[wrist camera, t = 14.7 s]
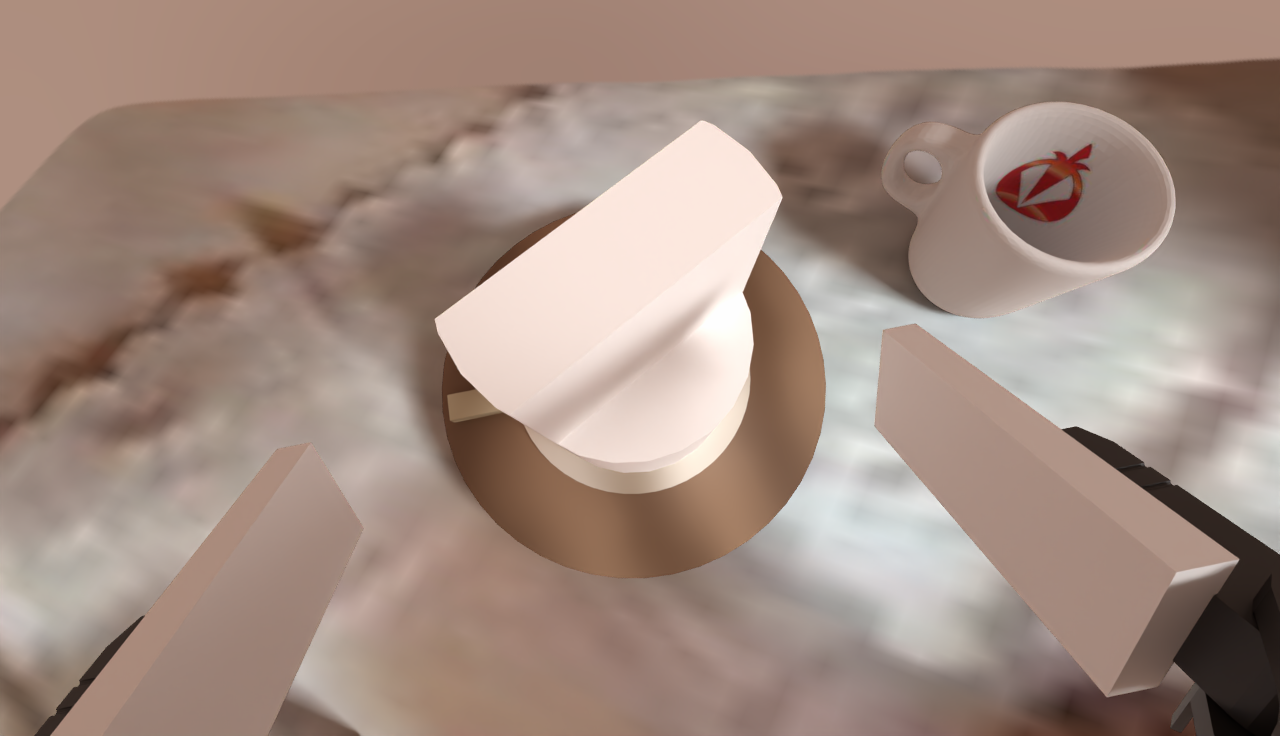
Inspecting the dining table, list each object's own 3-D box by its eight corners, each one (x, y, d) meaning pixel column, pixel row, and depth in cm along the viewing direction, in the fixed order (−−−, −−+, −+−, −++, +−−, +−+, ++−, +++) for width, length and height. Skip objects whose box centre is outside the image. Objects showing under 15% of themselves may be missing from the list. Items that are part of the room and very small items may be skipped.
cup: (816, 249, 29) (874, 158, 21) (893, 153, 30) (975, 33, 23) (988, 367, 27) (1122, 313, 19) (1062, 257, 28) (1215, 166, 21)
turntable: (760, 198, 29) (771, 167, 26) (857, 528, 24) (883, 531, 22) (442, 260, 29) (419, 235, 26) (481, 608, 24) (459, 621, 21)
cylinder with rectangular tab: (644, 250, 26) (636, 43, 14) (770, 386, 24) (880, 275, 12) (498, 363, 24) (357, 239, 13) (619, 516, 23) (581, 531, 11)
